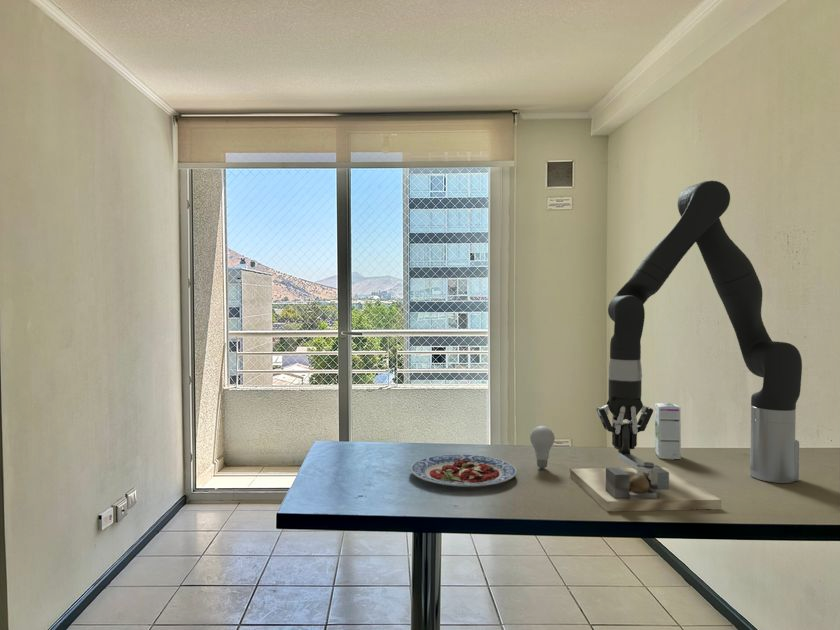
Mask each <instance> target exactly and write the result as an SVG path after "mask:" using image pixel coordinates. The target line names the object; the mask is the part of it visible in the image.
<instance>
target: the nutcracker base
mask: <svg viewBox="0 0 840 630" xmlns="http://www.w3.org/2000/svg"><path fill="white" fill-rule="evenodd" d="M661 468H662V469H664V470H666V471H667V472H669V490H657V489H656V488H654V487H653V486H651V480H650V479H647V480H648V482H649V490H648V491H647V492H646V493H633V492H632V491H631V489H630V487H629V481H630V479H631V478H632V477H633V476H635V475H637V470H635V469H634V468H632V467H601V468H600V467H597V468H596V467H595V468H593V467H592V468H591V467H589V468H570V469H569V470H570V471H569V478H571V479H572V480H573V481H574V482H575V483H576V484H577V485H578V486H579V487H580V488H581V489H582V490H583V491H584V492H585V493H586V494H587V495H589V496H590V497H591V498H592V499H593V500H594V501H595V502H596V503H597V504H598V505H600V507H601V508H603V509H604V510H605V512H637V511H638V512H639V511H640V512H643V511H644V512H645V511H647V512H648V511H652V512H653V511H695V510H696V509H711V510H722V499H721V498H720V497H718V496H716V495H714V494H713V493H711V492H709V491H708V490H705V489H704V488H702V487H700V486H699V485H697V484H696V483H693V482H692V481H690V480H689V479H687V478H685V477H684V476H682V475H680V474H678V473H677V472H675V471H672V469H669V468H668V467H661ZM690 509H692V510H690Z"/></svg>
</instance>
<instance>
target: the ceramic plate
mask: <svg viewBox="0 0 840 630" xmlns="http://www.w3.org/2000/svg"><path fill="white" fill-rule="evenodd" d="M410 472H411V474H412V475H413V476H415V477H417V478H419V479H421V480H422V481H427V482H429V483H434V484H437V485H442V486H447V487H454V488H455V487H456V488H476V487H485V486H491V485H497V484H501V483H504V482H507V481H509V480H512V479H513V478H514V477H515V476H517V475H516V474H517V468H516V467H515V466H514V465H513V464H511V463H510V462H508V461H505V460H502V459H500V458H496V457H491V456H485V455H479V454H465V453H463V454H461V453H460V454H458V453H456V454H454V453H452V454H451V453H450V454H440V455H439V454H438V455H433V456H428V457H424V458H421V459H418V460H417V461H415V462H413V463H412V464H411V465H410Z"/></svg>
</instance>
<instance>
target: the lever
mask: <svg viewBox="0 0 840 630" xmlns="http://www.w3.org/2000/svg"><path fill="white" fill-rule="evenodd" d="M619 434H621V449H617V451H618V452H617V453H618V459H619V460H620V461H622V462H623V463H625V464H626V465H628V466H630V468H634V469H635V470H637V475H641V476H644V477H645V478H646V479H650V480H651V486H653V487H654V488H656V489H657V490H669V472H667V471H666V470H664V469H662V468H663V467H661V466H659V465H657V464H655V463H654V462H651V461H644V460H643V459H641V458H639V457H638V456H636V455H634V454H632V453H631V449H630V447H631V424H629V423H627V422H623V423H622V425H621V429H620V433H619Z"/></svg>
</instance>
